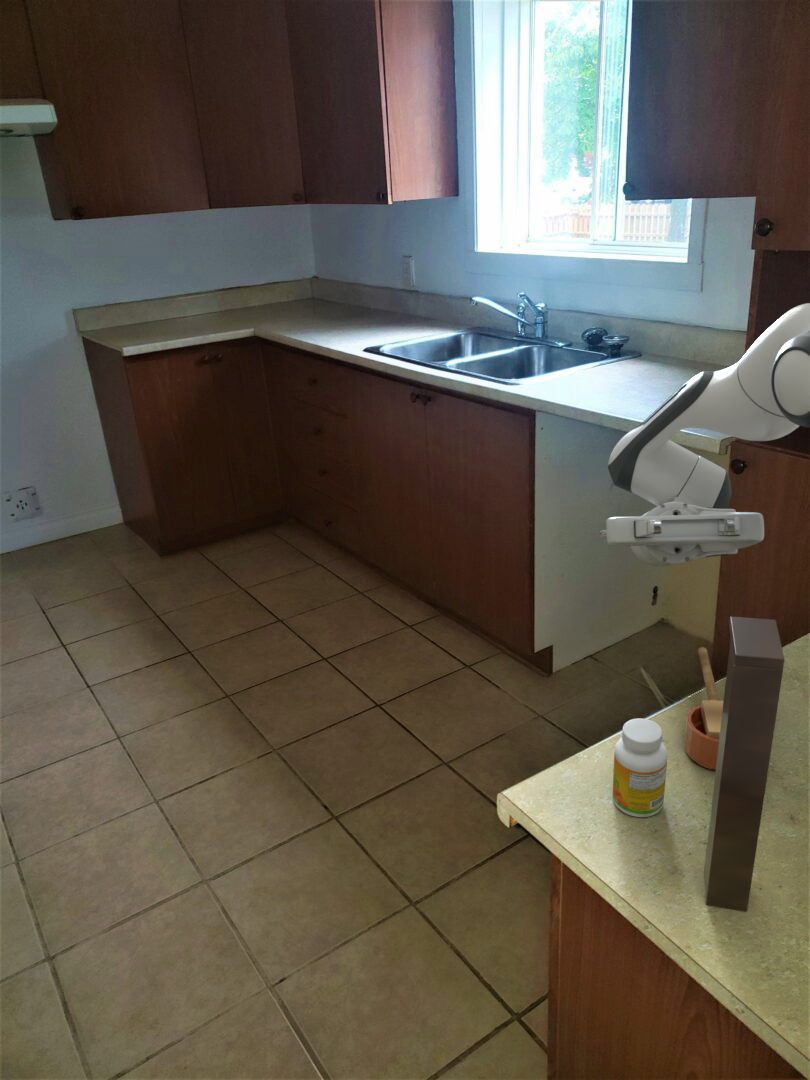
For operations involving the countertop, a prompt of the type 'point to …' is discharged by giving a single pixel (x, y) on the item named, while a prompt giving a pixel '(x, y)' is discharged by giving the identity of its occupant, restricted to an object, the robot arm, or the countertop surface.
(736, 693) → the tall brown pillar
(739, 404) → the robot arm
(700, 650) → the tan wooden mallet
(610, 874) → the countertop surface
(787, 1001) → the countertop surface
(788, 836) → the countertop surface
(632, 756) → the supplement bottle
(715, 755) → the bowl
